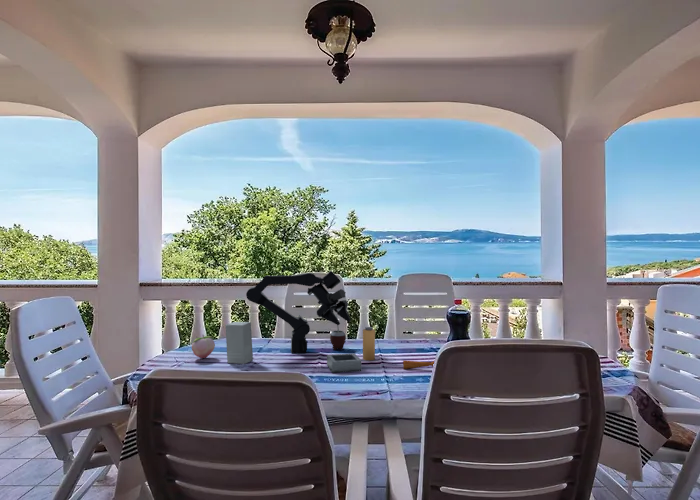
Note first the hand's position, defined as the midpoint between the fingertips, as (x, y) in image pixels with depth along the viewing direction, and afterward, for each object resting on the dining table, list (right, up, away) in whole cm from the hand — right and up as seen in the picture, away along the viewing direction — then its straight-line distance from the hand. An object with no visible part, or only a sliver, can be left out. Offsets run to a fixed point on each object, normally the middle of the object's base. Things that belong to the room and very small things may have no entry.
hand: (344, 322), depth 180 cm
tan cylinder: (+10, -14, -8) cm, 19 cm away
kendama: (+32, -14, -24) cm, 42 cm away
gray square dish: (0, -13, -21) cm, 25 cm away
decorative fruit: (-59, -14, -7) cm, 61 cm away
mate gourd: (-3, -14, +11) cm, 18 cm away
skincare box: (-42, -14, -13) cm, 46 cm away
